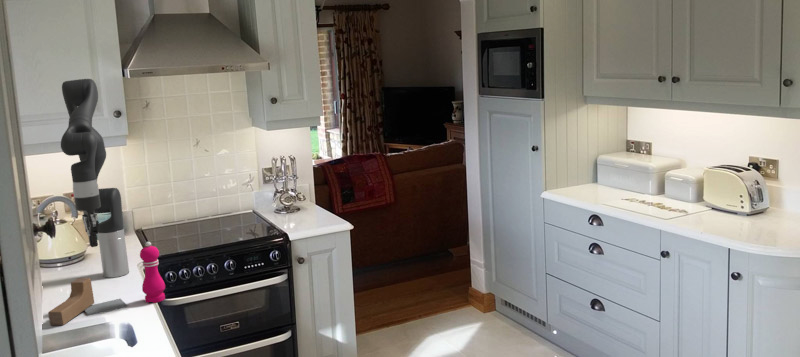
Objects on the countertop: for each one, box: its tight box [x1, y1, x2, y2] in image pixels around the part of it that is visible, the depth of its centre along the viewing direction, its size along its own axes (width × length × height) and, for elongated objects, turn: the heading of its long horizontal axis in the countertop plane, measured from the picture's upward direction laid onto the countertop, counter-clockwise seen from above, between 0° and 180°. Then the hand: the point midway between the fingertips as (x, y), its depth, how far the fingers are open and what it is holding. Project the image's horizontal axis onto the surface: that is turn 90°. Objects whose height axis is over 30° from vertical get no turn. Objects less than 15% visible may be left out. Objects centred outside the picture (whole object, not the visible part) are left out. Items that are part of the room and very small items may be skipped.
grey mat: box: [83, 298, 128, 316], centre depth 233 cm, size 8×12×1 cm
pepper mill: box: [139, 241, 166, 304], centre depth 236 cm, size 7×7×20 cm
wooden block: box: [47, 277, 95, 326], centre depth 227 cm, size 9×4×18 cm
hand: (94, 246), depth 234 cm, fingers closed
